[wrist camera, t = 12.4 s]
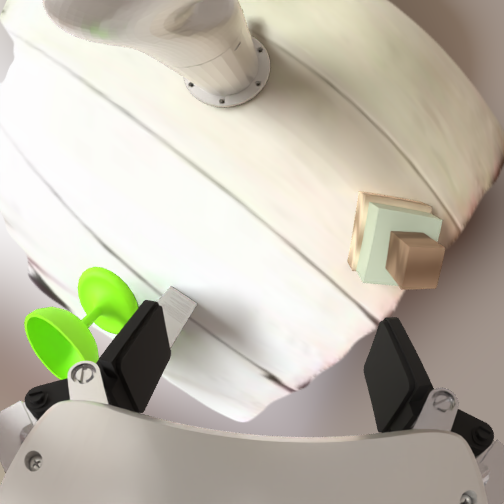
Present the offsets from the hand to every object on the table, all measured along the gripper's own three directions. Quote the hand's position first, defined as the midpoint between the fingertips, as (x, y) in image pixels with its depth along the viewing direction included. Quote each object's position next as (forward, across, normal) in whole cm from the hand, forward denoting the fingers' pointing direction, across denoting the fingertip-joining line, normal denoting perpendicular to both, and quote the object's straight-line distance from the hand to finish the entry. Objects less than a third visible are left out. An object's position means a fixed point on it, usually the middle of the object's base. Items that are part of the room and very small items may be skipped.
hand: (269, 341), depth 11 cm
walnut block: (+22, -17, +4) cm, 28 cm away
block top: (+26, -17, +4) cm, 31 cm away
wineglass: (+30, +34, +22) cm, 50 cm away
